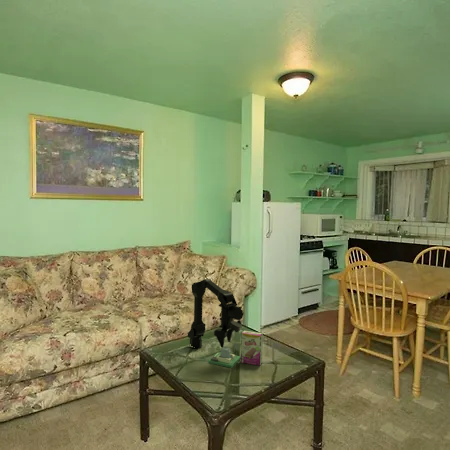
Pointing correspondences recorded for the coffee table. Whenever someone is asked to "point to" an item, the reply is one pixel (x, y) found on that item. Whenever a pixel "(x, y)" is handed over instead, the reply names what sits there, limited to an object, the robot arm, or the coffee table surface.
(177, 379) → the coffee table surface
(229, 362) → the board
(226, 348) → the plug
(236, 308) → the robot arm
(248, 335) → the candy bar box
